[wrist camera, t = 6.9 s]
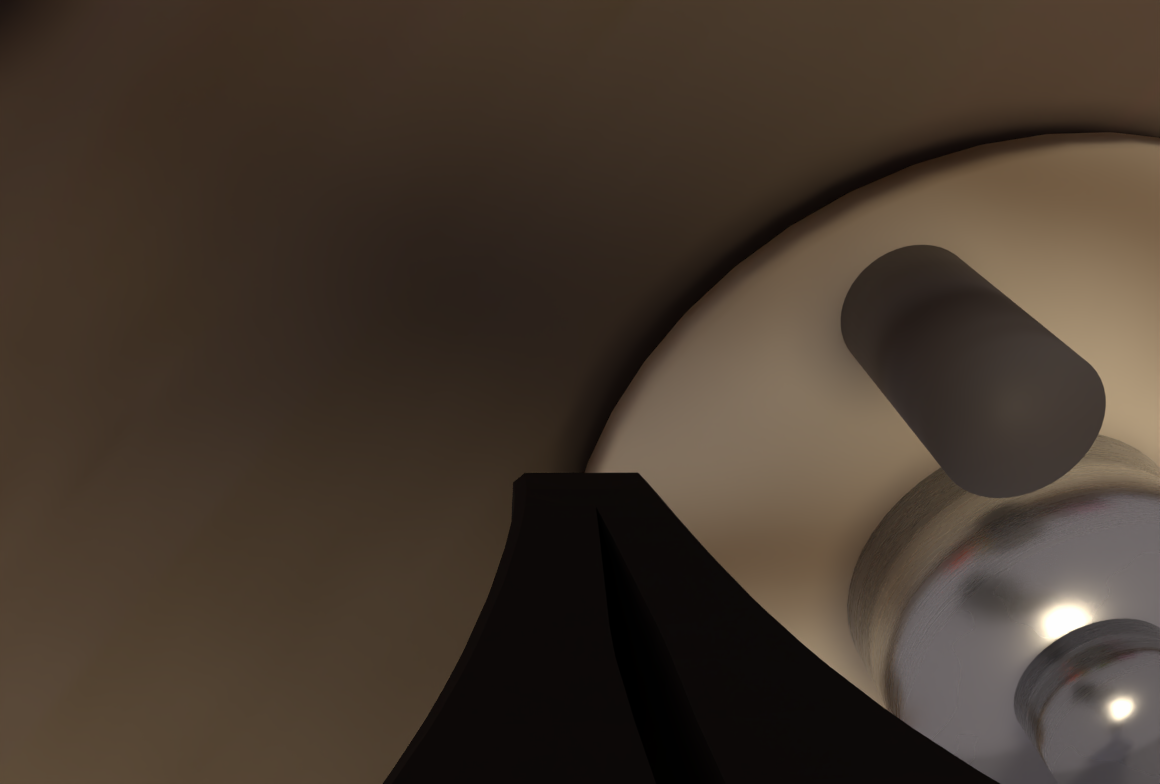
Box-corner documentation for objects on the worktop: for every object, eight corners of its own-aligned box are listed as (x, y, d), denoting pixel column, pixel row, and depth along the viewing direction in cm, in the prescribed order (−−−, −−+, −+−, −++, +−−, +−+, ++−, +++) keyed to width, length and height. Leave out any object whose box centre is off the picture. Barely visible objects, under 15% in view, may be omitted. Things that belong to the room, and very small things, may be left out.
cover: (1126, 695, 23) (1256, 857, 19) (824, 715, 22) (899, 889, 19) (1227, 423, 20) (1406, 556, 16) (876, 436, 19) (980, 580, 15)
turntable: (1217, 822, 27) (1367, 1013, 23) (543, 858, 25) (563, 1080, 20) (1562, 150, 19) (1905, 246, 14) (597, 111, 17) (652, 209, 12)
